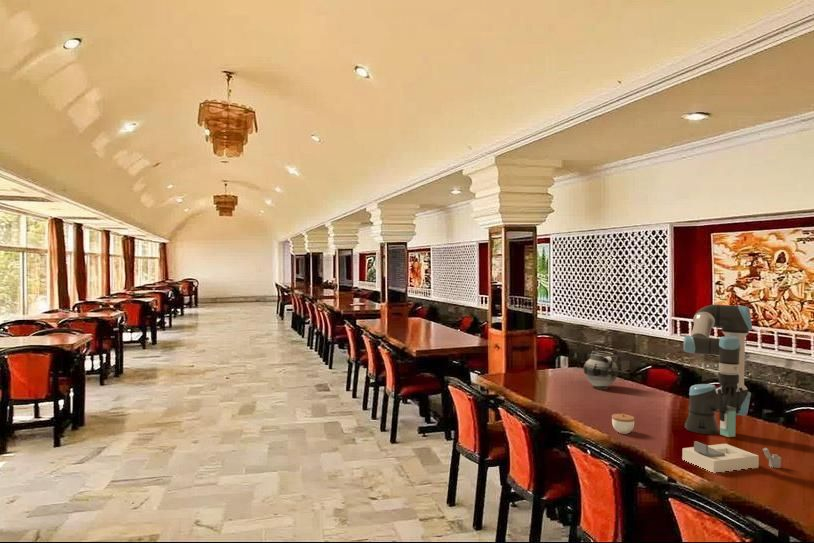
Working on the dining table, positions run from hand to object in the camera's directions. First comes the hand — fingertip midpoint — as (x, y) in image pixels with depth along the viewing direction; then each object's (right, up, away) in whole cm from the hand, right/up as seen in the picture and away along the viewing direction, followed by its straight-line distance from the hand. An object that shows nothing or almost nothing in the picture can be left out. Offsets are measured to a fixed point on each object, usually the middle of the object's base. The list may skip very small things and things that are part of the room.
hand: (727, 427), depth 230 cm
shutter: (-10, -10, -3) cm, 14 cm away
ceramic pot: (-3, -14, +142) cm, 143 cm away
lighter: (+16, -15, -4) cm, 23 cm away
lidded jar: (-28, -14, +42) cm, 52 cm away
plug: (0, -3, 0) cm, 3 cm away
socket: (-4, -15, -1) cm, 16 cm away
